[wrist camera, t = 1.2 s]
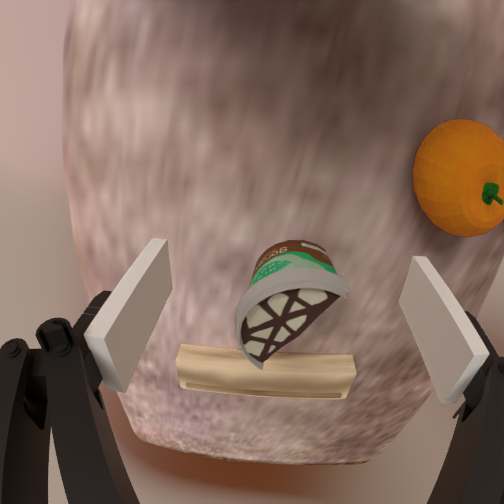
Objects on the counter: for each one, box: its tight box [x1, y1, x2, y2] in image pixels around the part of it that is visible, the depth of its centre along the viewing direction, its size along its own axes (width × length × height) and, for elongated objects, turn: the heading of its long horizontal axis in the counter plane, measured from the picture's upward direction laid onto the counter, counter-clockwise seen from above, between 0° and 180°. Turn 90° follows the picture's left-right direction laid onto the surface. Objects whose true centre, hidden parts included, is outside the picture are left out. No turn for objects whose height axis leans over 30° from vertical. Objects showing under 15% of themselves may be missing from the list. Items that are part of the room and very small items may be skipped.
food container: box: [235, 240, 349, 370], centre depth 30 cm, size 12×6×10 cm, turn 143°
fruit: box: [413, 119, 504, 237], centre depth 23 cm, size 12×12×10 cm
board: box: [175, 343, 356, 399], centre depth 41 cm, size 6×24×4 cm, turn 88°
